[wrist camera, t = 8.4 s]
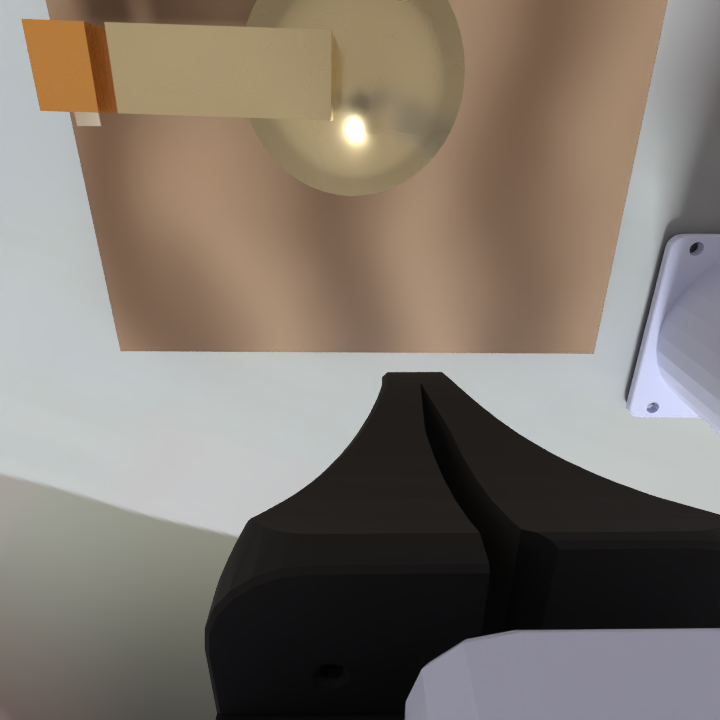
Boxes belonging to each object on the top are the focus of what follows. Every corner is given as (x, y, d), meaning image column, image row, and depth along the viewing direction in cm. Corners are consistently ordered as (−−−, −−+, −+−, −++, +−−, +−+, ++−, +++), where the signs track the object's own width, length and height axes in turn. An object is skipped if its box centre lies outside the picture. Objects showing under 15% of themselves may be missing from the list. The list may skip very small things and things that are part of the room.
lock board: (705, -308, 14) (802, -430, 11) (580, 339, 22) (615, 376, 19) (9, -301, 14) (-92, -418, 11) (135, 336, 23) (97, 373, 19)
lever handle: (469, -43, 14) (487, -70, 12) (446, 193, 16) (457, 205, 14) (53, -57, 14) (0, -86, 12) (94, 181, 16) (57, 191, 14)
